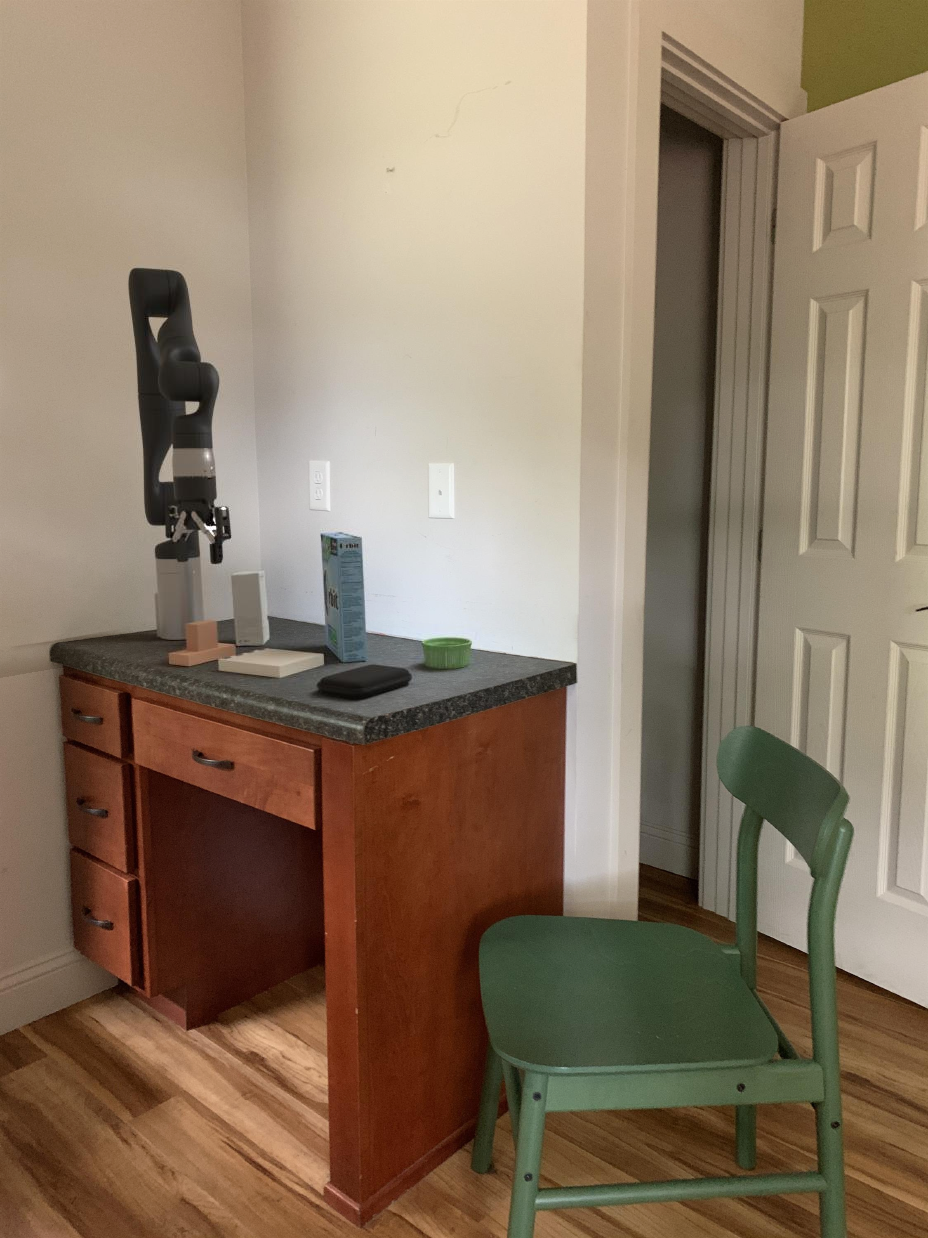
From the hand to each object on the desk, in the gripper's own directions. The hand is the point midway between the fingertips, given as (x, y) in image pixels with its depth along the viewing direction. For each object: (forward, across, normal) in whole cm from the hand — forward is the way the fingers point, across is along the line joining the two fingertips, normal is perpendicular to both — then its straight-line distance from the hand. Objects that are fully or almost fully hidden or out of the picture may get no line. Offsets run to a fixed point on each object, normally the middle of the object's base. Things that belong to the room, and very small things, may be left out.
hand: (199, 562), depth 168 cm
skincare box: (+19, -4, +18) cm, 26 cm away
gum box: (+18, +20, +17) cm, 32 cm away
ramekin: (+18, +44, +16) cm, 50 cm away
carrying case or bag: (+19, +41, -6) cm, 46 cm away
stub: (+18, 0, 0) cm, 18 cm away
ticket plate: (+18, +17, 0) cm, 25 cm away
